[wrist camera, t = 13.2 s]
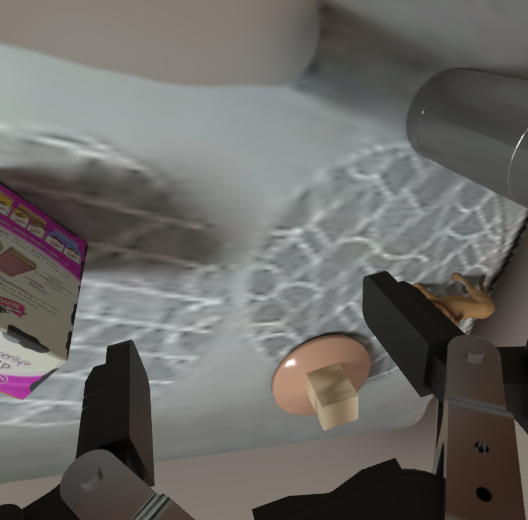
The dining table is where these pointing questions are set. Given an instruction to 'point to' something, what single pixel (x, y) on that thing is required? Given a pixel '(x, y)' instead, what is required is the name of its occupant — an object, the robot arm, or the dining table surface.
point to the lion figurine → (463, 301)
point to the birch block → (332, 396)
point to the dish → (315, 357)
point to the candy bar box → (35, 293)
